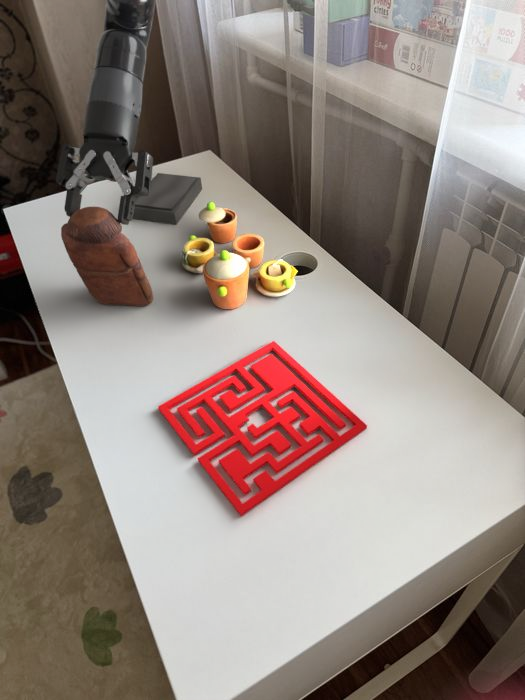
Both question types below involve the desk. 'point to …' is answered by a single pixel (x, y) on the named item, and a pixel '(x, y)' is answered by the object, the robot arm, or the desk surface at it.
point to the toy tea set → (234, 261)
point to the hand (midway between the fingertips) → (97, 220)
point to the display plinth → (167, 198)
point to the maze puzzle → (235, 461)
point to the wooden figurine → (105, 258)
